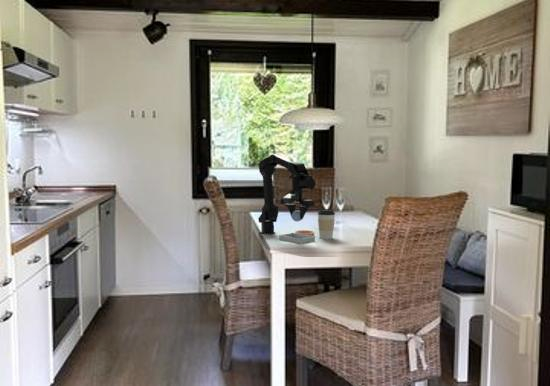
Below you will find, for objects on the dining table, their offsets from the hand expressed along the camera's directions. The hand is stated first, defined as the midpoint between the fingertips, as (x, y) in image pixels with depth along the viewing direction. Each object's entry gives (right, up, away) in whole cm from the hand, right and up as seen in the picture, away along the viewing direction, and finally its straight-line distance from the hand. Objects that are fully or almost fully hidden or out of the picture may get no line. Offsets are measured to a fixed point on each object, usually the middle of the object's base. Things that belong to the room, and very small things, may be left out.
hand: (297, 218), depth 268 cm
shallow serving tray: (0, -11, +1) cm, 11 cm away
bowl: (+5, -10, +15) cm, 18 cm away
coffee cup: (+15, -10, +8) cm, 20 cm away
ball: (0, -1, 0) cm, 1 cm away
